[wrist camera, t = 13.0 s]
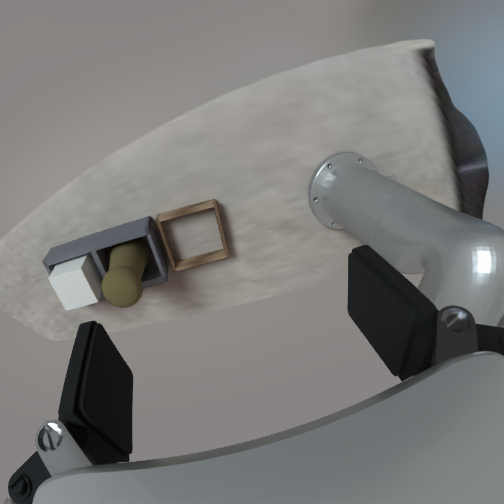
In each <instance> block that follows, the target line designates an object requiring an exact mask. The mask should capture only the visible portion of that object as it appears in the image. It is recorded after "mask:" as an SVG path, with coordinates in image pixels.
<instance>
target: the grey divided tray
mask: <svg viewBox="0 0 504 504" xmlns="http://www.w3.org/2000/svg"><path fill="white" fill-rule="evenodd" d="M145 235H147V238H148V240H149V243H150V246H151V249H152V251H153V254H154V257H155V260H156V262H157V264H156V265H152V266H149V267H145V269H144V272H143V274H142V277H141V280H142V285H143V288H146V287H150V286H153V285H157V284H161V283H164V282H168V267H167V264H166V261H165V258H164V256H163V253H162V250H161V247H160V244H159V241H158V239H157V236H156V233H155V230H154V227H153V224H152V221H151V218H150V216H149V217H146V218H142V219H139V220H136V221H132V222H129V223H126V224H123V225H119V226H116V227H113V228H110V229H107V230H104V231H101V232H98V233H95V234H92V235H89V236H86V237H83V238H80V239H77V240H74V241H71V242H68V243H65V244H62V245H60V246H57V247H54V248H51V249H50V251H49V252H48V254H47V255H46V257H45V258H44V260H43V263H44V265H45V267H46V269H47V271H48V273H49V275H50V274H51V273H52V271H53V269H54V268H55V266H56V264H57V263H59V262H62V261H65V260H68V259H71V258H74V257H77V256H80V255H83V254H86V253H90V252H91V254H92V256H93V259H94V261H95V263H96V265H97V267H98V270H99V272H100V274H101V276H102V278H104V276H105V274H106V273H107V272H108V271H109V264H110V257H109V255H108V253H107V250H106V248H105V247H109V246H112V245H115V244H118V243H122V242H125V241H128V240H132V239H135V238H138V237H142V236H145ZM101 299H105V296H104V294H103V291H101V294H100V298H99V300H101Z"/></svg>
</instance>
